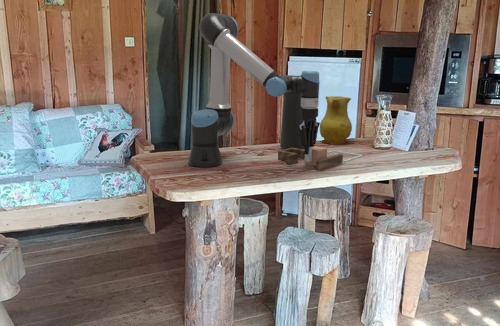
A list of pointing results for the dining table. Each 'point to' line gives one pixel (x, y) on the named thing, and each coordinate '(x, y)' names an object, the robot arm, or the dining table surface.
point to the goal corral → (347, 153)
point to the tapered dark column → (291, 121)
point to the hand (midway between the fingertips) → (308, 161)
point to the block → (317, 155)
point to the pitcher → (336, 121)
